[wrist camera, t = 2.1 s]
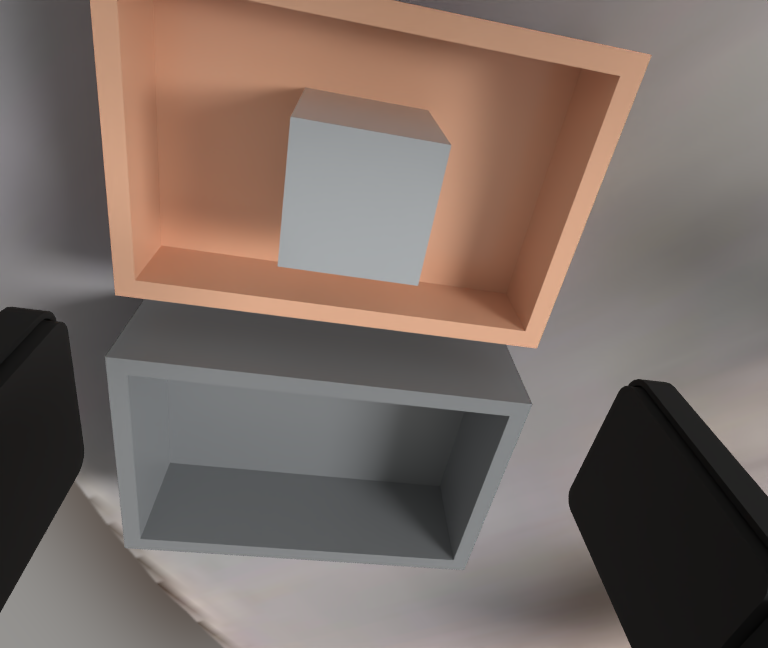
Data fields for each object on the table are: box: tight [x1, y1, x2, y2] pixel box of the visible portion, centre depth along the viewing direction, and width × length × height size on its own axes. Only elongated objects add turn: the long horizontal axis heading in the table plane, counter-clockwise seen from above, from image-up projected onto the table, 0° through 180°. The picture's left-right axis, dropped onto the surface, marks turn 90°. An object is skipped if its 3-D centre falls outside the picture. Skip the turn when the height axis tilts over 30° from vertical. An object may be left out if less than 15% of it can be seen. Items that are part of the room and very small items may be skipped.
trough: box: [90, 0, 652, 348], centre depth 22 cm, size 12×18×4 cm, turn 80°
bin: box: [105, 299, 532, 570], centre depth 28 cm, size 12×18×6 cm, turn 80°
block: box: [278, 87, 451, 286], centre depth 20 cm, size 5×5×6 cm
